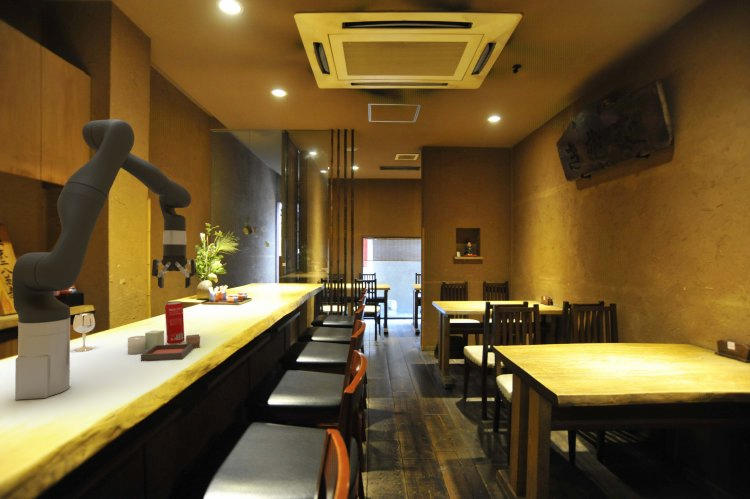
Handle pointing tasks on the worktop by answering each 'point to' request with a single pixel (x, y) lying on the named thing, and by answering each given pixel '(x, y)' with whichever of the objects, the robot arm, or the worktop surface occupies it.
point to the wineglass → (84, 326)
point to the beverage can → (174, 322)
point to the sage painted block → (154, 338)
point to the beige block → (136, 345)
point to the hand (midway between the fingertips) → (174, 287)
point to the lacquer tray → (167, 352)
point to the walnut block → (193, 340)
